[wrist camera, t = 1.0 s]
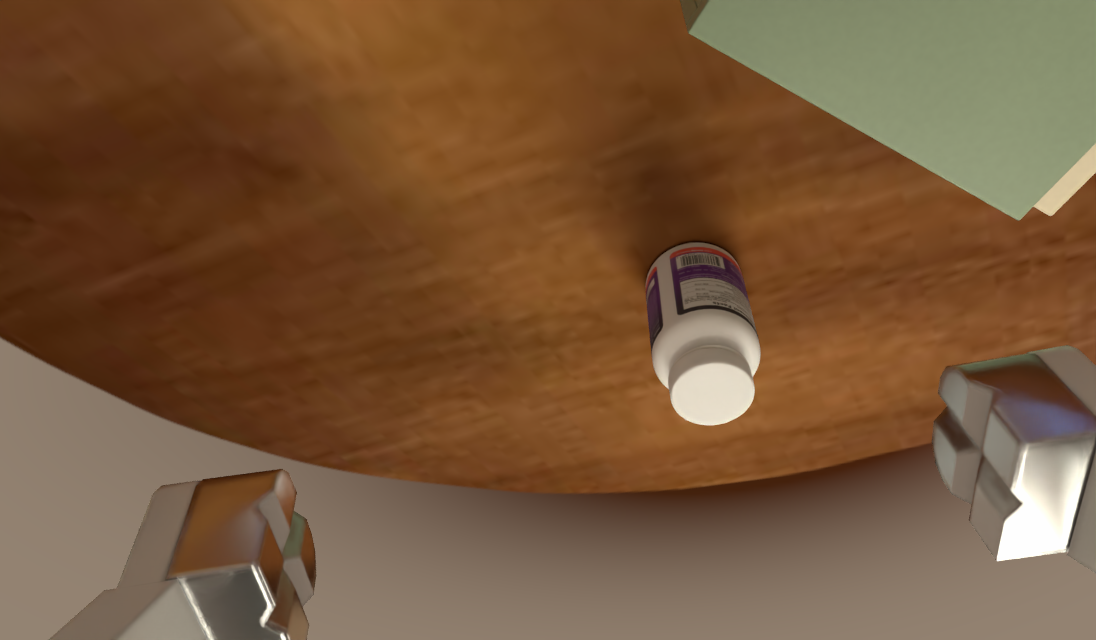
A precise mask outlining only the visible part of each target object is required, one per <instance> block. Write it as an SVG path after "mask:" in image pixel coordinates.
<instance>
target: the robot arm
mask: <svg viewBox="0 0 1096 640" xmlns="http://www.w3.org/2000/svg"><path fill="white" fill-rule="evenodd" d="M938 394H939V395H940V397H941V398H942V399H943V401H944V402H945V403H946V405H947V407H946V408H945V409H944V410H943V412H942V413H941V414H940V415H939V416H938V417H937V418H936V419H935V421H934V425H933V435H932V446H933V452H934V458H935V463H936V466H937V469H938V471H939V473H940V476H941V478H942V480H943V482H944V483H945V485H946V486H947V488H948V490H949V491H950V493H951V494H952V495H954V496H956V497H958V498H960V499H962V500H964V501H966V502H967V503H969V504H971V511H970V517H969V521H970V523H971V524H972V526H973V527H974V529H975V530H976V532H977V533H978V534H979V536H980V537H981V539H982V540H983V542H984V543H985V545H986V546H987V548H988V549H989V551H990V552H991V554H992V555H993V557H994V558H995V560H996V561H1000V560H1008V559H1014V558H1023V557H1030V556H1038V555H1046V554H1054V553H1061V552H1068V554H1067V555H1068V556H1070V557H1071V558H1073V559H1074V560H1076V561H1077V562H1079V563H1080V564H1082V565H1084V566H1085V567H1087V568H1088V569H1090V570H1091V571H1093V572H1095V573H1096V366H1095V365H1094V364H1093V363H1092V362H1091V361H1090V360H1089V359H1088V358H1087V357H1086V356H1085V355H1084V354H1083V353H1082V352H1081V351H1080V350H1078V349H1076V348H1074V347H1071V346H1068V345H1066V346H1060V347H1055V348H1049V349H1043V350H1038V351H1032V352H1027V353H1026V354H1020V355H1014V356H1008V357H1002V358H995V359H989V360H983V361H977V362H970V363H964V364H958V365H952V366H946V368H945V370H944V371H943V373H942V375H941V377H940V383H939V389H938ZM296 494H297V492H296V490H295V488H294V485H293V482H292V480H291V477H290V475H289V473H288V472H287V471H285V470H283V469H278V470H271V471H263V472H255V473H248V474H240V475H232V476H225V477H218V478H210V479H203V480H202V481H192V482H185V483H177V484H170V485H163V486H161V487H160V488H159V489H157V490H156V491H155V492H154V493H153V495H152V498H151V500H150V503H149V505H148V508H147V511H146V513H145V516H144V518H143V521H142V523H141V526H140V529H139V532H138V534H137V537H136V539H135V542H134V545H133V547H132V549H131V552H130V555H129V558H128V560H127V563H126V565H125V568H124V570H123V573H122V576H121V578H120V581H119V583H118V586H117V588H116V589H110V590H104V591H103V592H102V593H101V594H100V595H99V596H98V597H96V598H95V599H94V600H93V601H92V602H91V603H89V604H88V605H87V606H86V607H85V608H84V609H83V610H82V611H81V612H79V613H78V614H77V615H76V616H75V617H74V618H73V619H71V620H70V621H69V622H68V623H67V624H66V625H65V626H64V627H62V628H61V629H60V630H59V631H58V632H57V633H56V634H55V635H53V636H52V637H51V638H50V639H49V640H307V635H308V629H309V623H308V620H307V618H306V615H305V613H304V610H303V606H304V605H305V603H306V602H307V601H308V600H309V599H310V598H311V597H312V596H313V594H314V587H315V580H316V560H315V548H314V543H313V538H312V534H311V531H310V528H309V525H308V522H307V519H305V518H304V517H302V516H301V515H299V514H298V513H296V512H295V511H294V505H295V500H296Z"/></svg>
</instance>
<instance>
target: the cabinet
mask: <svg viewBox="0 0 1096 640" xmlns="http://www.w3.org/2000/svg"><path fill="white" fill-rule="evenodd" d="M680 2H681V6H682V10H683V14H684V19H685V23H686V27H687V31H688V33H689V34H691V35H692V36H694V37H696V38H698V39H699V40H701V41H703V42H705V43H706V44H708V45H710V46H712V47H714V48H715V49H717V50H719V51H721V52H722V53H724V54H726V55H728V56H729V57H731V58H733V59H735V60H736V61H738V62H740V63H742V64H743V65H745V66H747V67H749V68H750V69H752V70H754V71H756V72H757V73H759V74H761V75H763V76H765V77H766V78H768V79H770V80H772V81H773V82H775V83H777V84H779V85H780V86H782V87H784V88H786V89H787V90H789V91H791V92H793V93H794V94H796V95H798V96H800V97H801V98H803V99H805V100H807V101H808V102H810V103H812V104H814V105H816V106H817V107H819V108H821V109H823V110H824V111H826V112H828V113H830V114H831V115H833V116H835V117H837V118H838V119H840V120H842V121H844V122H845V123H847V124H849V125H851V126H852V127H854V128H856V129H858V130H859V131H861V132H863V133H865V134H867V135H868V136H870V137H872V138H874V139H875V140H877V141H879V142H881V143H882V144H884V145H886V146H888V147H889V148H891V149H893V150H895V151H896V152H898V153H900V154H902V155H903V156H905V157H907V158H909V159H910V160H912V161H914V162H916V163H918V164H919V165H921V166H923V167H925V168H926V169H928V170H930V171H932V172H933V173H935V174H937V175H939V176H940V177H942V178H944V179H946V180H947V181H949V182H951V183H953V184H954V185H956V186H958V187H960V188H961V189H963V190H965V191H967V192H969V193H970V194H972V195H974V196H976V197H977V198H979V199H981V200H983V201H984V202H986V203H988V204H990V205H991V206H993V207H995V208H997V209H998V210H1000V211H1002V212H1004V213H1005V214H1007V215H1009V216H1011V217H1012V218H1014V219H1016V220H1020V219H1021V218H1022V217H1023V216H1024V215H1025V214H1026V213H1027V212H1028V211H1029V210H1030V209H1031V208H1032V207H1033V206H1034V205H1035V204H1036V203H1037V202H1038V201H1039V200H1040V199H1041V198H1042V197H1043V196H1044V195H1045V194H1046V193H1047V192H1048V191H1049V190H1050V189H1051V188H1052V187H1053V186H1054V185H1055V184H1056V183H1057V182H1058V181H1059V180H1060V179H1061V178H1062V177H1063V176H1064V175H1065V174H1066V173H1067V172H1068V171H1069V170H1070V169H1071V168H1072V167H1073V166H1074V165H1075V164H1076V163H1077V162H1078V161H1079V160H1080V159H1081V158H1082V157H1083V156H1084V155H1085V154H1086V153H1087V152H1088V151H1089V150H1090V149H1091V148H1092V147H1093V146H1094V145H1095V144H1096V0H680Z"/></svg>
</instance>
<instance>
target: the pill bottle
mask: <svg viewBox="0 0 1096 640" xmlns="http://www.w3.org/2000/svg"><path fill="white" fill-rule="evenodd" d="M646 301H647V311H648V321H649V332H650V343H651V354H652V360H653V366H654V369H655V372H656V374H657V376H658V378H659V379H660V381H661V382H662V383H663V384H664V386H666V387H667V388H668V389H669V391H670V397H671V402H672V405H673V407H674V409H675V410H676V412H677V413H678V414H679V415H680V416H681V417H683V418H684V419H686V420H688V421H690V422H693V423H696V424H701V425H718V424H723V423H726V422H729V421H731V420H733V419H736V418H737V417H739V416H740V415H742V414H743V413H744V412H745V411H746V410H747V409H748V408H749V406H750V405H751V403H752V401H753V398H754V392H755V388H754V382H753V375H754V374H755V372H756V370H757V368H758V365H759V362H760V345H759V340H758V335H757V332H756V328H755V324H754V320H753V316H752V312H751V308H750V304H749V300H748V296H747V292H746V288H745V284H744V279H743V276H742V273H741V270H740V267H739V265H738V264H737V262H736V260H735V259H734V258H733V257H732V256H731V255H730V254H729V253H728V252H726V251H725V250H723V249H722V248H719V247H717V246H715V245H711V244H707V243H698V242H695V243H686V244H682V245H679V246H676V247H674V248H672V249H670V250H668V251H667V252H665V253H663V254H662V255H661V256H660V257H659V258H658V259H657V260H656V261H655V262H654V264H653V265H652V267H651V268H650V270H649V273H648V276H647V279H646Z"/></svg>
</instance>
